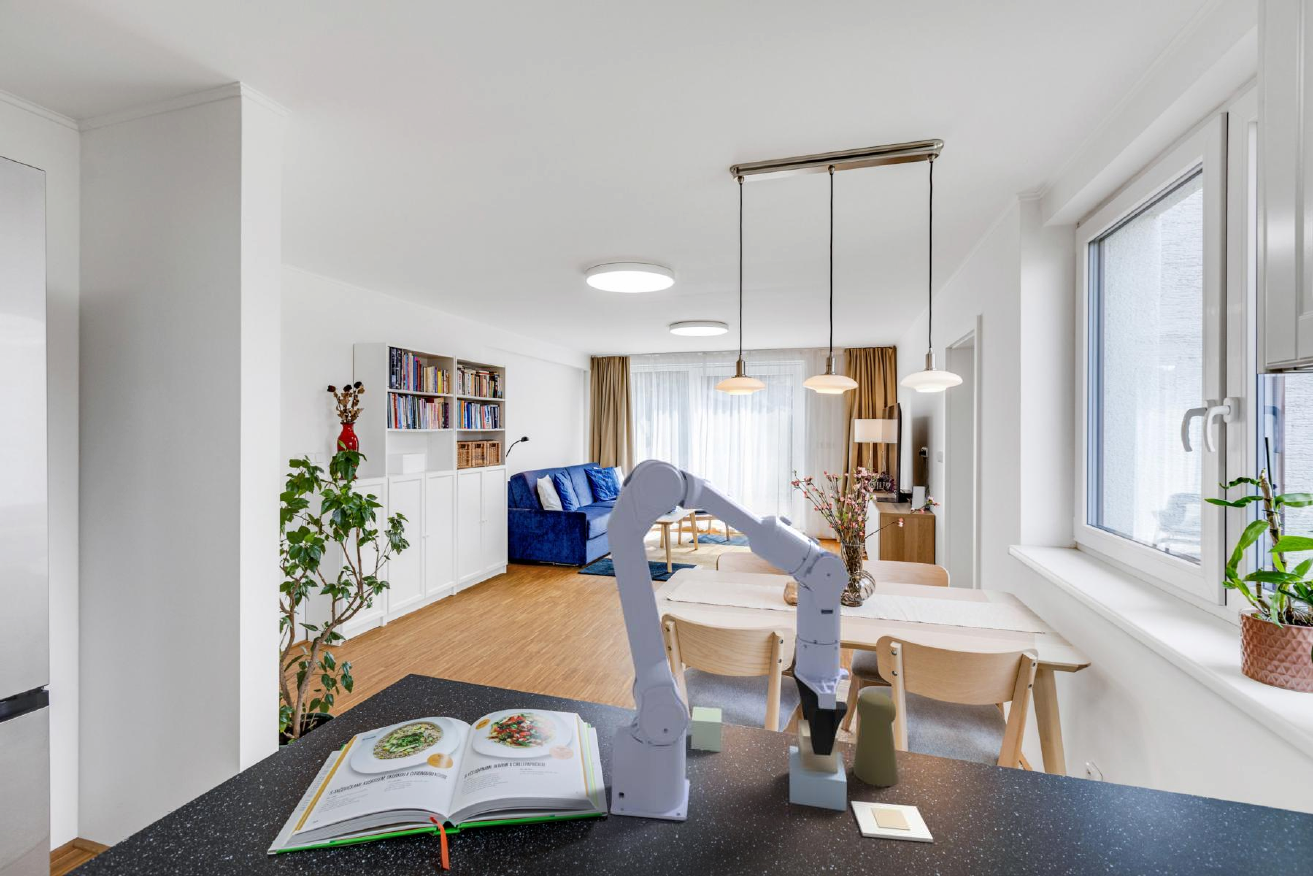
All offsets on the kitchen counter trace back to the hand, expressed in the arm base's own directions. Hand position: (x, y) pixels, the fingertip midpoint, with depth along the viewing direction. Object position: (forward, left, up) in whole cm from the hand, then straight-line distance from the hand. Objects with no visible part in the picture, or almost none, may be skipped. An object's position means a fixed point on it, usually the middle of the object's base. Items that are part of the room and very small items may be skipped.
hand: (816, 738), depth 76 cm
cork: (+9, +5, -7) cm, 13 cm away
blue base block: (0, 0, -7) cm, 7 cm away
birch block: (0, 0, -3) cm, 3 cm away
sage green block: (-15, +10, -7) cm, 19 cm away
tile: (+8, -6, -7) cm, 12 cm away
